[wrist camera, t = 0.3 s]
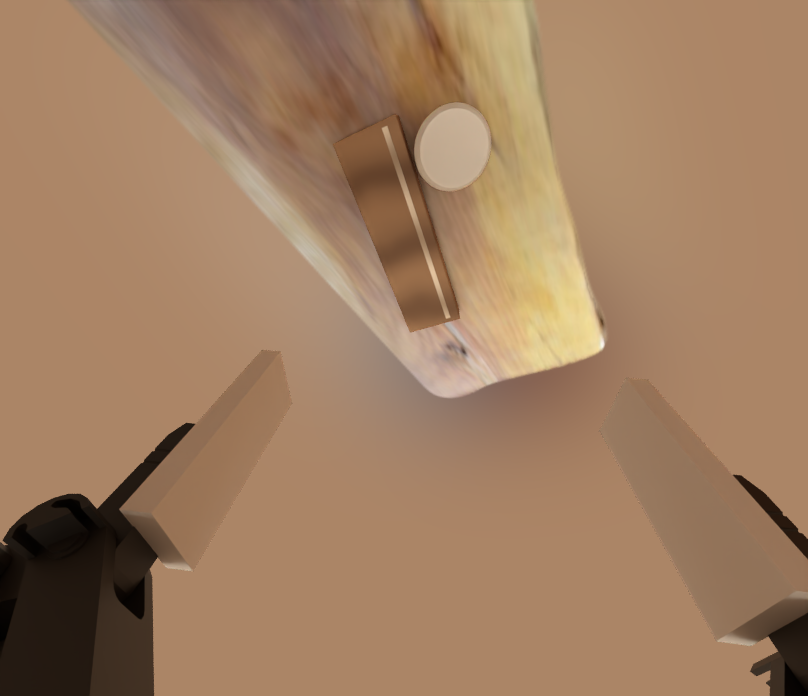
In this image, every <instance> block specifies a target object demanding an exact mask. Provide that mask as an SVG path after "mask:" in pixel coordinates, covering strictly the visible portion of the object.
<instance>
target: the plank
mask: <svg viewBox="0 0 808 696" xmlns="http://www.w3.org/2000/svg"><path fill="white" fill-rule="evenodd" d="M333 146H334V148H335V151H336V153H337V156H338V158H339V161H340V163H341V165H342V168H343V170H344V173H345V175H346V178H347V180H348V182H349V185H350V187H351V190H352V192H353V195H354V197H355V200H356V202H357V204H358V207H359V209H360V212H361V214H362V217H363V219H364V221H365V224H366V226H367V229H368V231H369V234H370V236H371V238H372V241H373V243H374V246H375V248H376V251H377V253H378V255H379V258H380V260H381V263H382V265H383V268H384V270H385V273H386V275H387V277H388V280H389V282H390V285H391V287H392V290H393V292H394V294H395V297H396V299H397V302H398V304H399V307H400V309H401V311H402V314H403V316H404V319H405V321H406V324H407V326H408V328H409V331H410V332H414V331H417V330H421V329H424V328H428V327H432V326H435V325H439V324H442V323H446V322H450V321H453V320H457V319H460V316H459V308H458V305H457V302H456V299H455V295H454V292H453V289H452V286H451V282H450V279H449V276H448V273H447V270H446V266H445V263H444V260H443V257H442V253H441V250H440V247H439V244H438V241H437V237H436V234H435V231H434V228H433V224H432V221H431V218H430V215H429V212H428V208H427V205H426V202H425V199H424V195H423V192H422V189H421V186H420V183H419V179H418V176H417V173H416V170H415V166H414V163H413V160H412V157H411V154H410V150H409V147H408V144H407V141H406V138H405V134H404V131H403V128H402V125H401V121H400V118H399V116H398V115H396V114H394V115H392V116H390V117H388V118H386V119H384V120H382V121H380V122H378V123H376V124H374V125H371V126H369V127H367V128H365V129H363V130H361V131H359V132H357V133H355V134H353V135H351V136H349V137H347V138H345V139H342V140H340V141H338V142H336V143H334V144H333Z"/></svg>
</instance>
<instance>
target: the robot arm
mask: <svg viewBox="0 0 808 696" xmlns="http://www.w3.org/2000/svg"><path fill="white" fill-rule="evenodd" d="M291 404H292V400H291V396H290V391H289V387H288V383H287V378H286V374H285V369H284V365H283V360H282V356H281V352H280V351H269V350H268V351H267V350H262V351H261V352H260V353H259V354H258V355H257V356H256V357H255V359H254V360H253V361H252V362H251V363H250V364H249V365H248V366H247V367H246V368H245V370H244V371H243V372H242V373H241V374H240V375H239V376H238V377H237V378H236V380H235V381H234V382H233V383H232V384H231V385H230V386H229V387H228V389H227V390H226V391H225V392H224V393H223V394H222V395H221V397H219V399H218V400H217V401H216V402H215V403H214V404H213V405H212V406H211V408H210V409H209V410H208V411H207V412H206V413H205V414H204V415H203V416H202V418H201V419H200V420H199V421H198V422H197V423H196V424H192V423H185V424H184V425H182V426H181V427H179V428H178V429H176V430H175V431H173V432H172V433H170V434H169V435H168V436H167V437H166V438H165V439H164V440H163V441H162V442H161V443H160V444H159V445H158V446H157V447H156V448H155V451H152V452H151V453H150V454H149V456H148V457H147V458H146V459H145V460H144V463H141V464H140V465H139V466H138V467H137V468H136V469H135V470H134V471H133V472H132V473H131V474H130V475H129V476H128V477H127V479H125V480H124V482H123V483H122V484H121V485H120V486H119V487H118V488H117V489H116V490H115V491H114V492H113V493H112V494H111V495H110V496H109V497H108V498H107V499H106V500H105V501H104V502H103V503H102V504H101V506H100V507H99V508H98V509H96V507H95V506H94V505H93V504H92V503H91V502H90V501H89V499H88V498H86V497H85V496H83V495H81V494H66V495H63V496H59V497H55V498H53V499H51V500H48V501H46V502H44V503H42V504H40V505H38V506H36V507H35V508H34V509H32V510H31V511H29V512H28V513H26V514H25V515H23V516H22V517H21V518H20V519H19V520H18V521H17V522H16V523H15V524H14V525H13V526H12V527H11V528H10V529H9V531H8V532H7V534H6V536H5V537H4V539H3V541H4V542H5V543H6V544H8V545H3V544H2V543H0V696H154V674H153V673H154V672H153V671H154V667H153V609H152V608H153V604H152V603H153V601H152V575H151V572H150V568H151V566H152V565H153V563H154V562H155V560H156V559H157V557H158V558H159V559H160V561H161V562H162V563H163V564H164V566H165V567H166V568H172V569H180V570H187V571H194V569H195V567H196V565H197V564H198V562H199V560H200V559H201V557H202V555H203V554H204V552H205V550H206V549H207V547H208V545H209V543H210V542H211V540H212V538H213V537H214V535H215V533H216V532H217V530H218V528H219V526H220V525H221V523H222V521H223V520H224V518H225V516H226V515H227V513H228V511H229V510H230V508H231V506H232V504H233V502H234V501H235V499H236V497H237V496H238V494H239V493H240V491H241V489H242V488H243V486H244V484H245V482H246V481H247V479H248V477H249V476H250V474H251V472H252V471H253V469H254V467H255V465H256V464H257V462H258V460H259V459H260V457H261V455H262V454H263V452H264V450H265V448H266V447H267V445H268V443H269V442H270V440H271V438H272V437H273V435H274V433H275V431H276V430H277V428H278V427H279V425H280V423H281V421H282V420H283V418H284V416H285V415H286V413H287V411H288V410H289V408H290V406H291ZM600 433H601V435H602V437H603V438H604V440H605V442H606V444H607V446H608V447H609V449H610V451H611V453H612V454H613V456H614V458H615V460H616V462H617V464H618V465H619V467H620V469H621V471H622V473H623V474H624V476H625V478H626V480H627V482H628V483H629V485H630V487H631V489H632V490H633V492H634V494H635V496H636V498H637V500H638V501H639V503H640V505H641V506H642V509H643V510H644V512H645V514H646V516H647V517H648V519H649V521H650V523H651V525H652V526H653V528H654V530H655V532H656V534H657V535H658V537H659V539H660V541H661V542H662V544H663V546H664V548H665V550H666V551H667V553H668V555H669V557H670V559H671V560H672V562H673V564H674V566H675V568H676V570H677V571H678V573H679V575H680V577H681V579H682V580H683V582H684V584H685V586H686V587H687V589H688V591H689V593H690V595H691V596H692V598H693V600H694V602H695V604H696V606H697V607H698V609H699V611H700V613H701V615H702V616H703V618H704V620H705V622H706V623H707V625H708V627H709V629H710V631H711V633H712V634H713V636H714V638H715V640H716V641H719V642H726V643H734V644H741V645H749V646H752V645H754V644H755V643H757V642H759V641H761V640H763V639H764V638H766V637H768V636H769V638H770V639H771V641H772V642H773V644H774V645H775V647H776V648H777V650H778V652H776V653H774V654H772V655H770V656H768V657H767V658H765V659H763V660H761V661H759V662H757V663H755V664H753V666H752V668H751V671H750V672H752V673H753V674H754V675H756V676H758V675H760V674H762V673H765V672H767V671H769V670H771V675H770V680H769V681H768V682H766V684H768V685H769V686H770V696H808V539H807V538H806V537H805V536H804V535H803V534H802V533H799V532H798V528H797V527H796V526H795V525H794V524H793V523H792V522H791V521H790V520H789V519H788V518H787V517H786V516H783V514H782V511H781V510H780V509H779V508H778V507H777V506H776V505H775V504H774V503H773V502H772V501H771V499H770V498H769V497H767V495H766V494H765V493H764V492H763V491H761V490H760V489H758V488H757V487H756V486H754V485H753V484H752V483H750V482H749V481H747V480H746V479H745V478H744V477H742V476H740V475H732V474H731V473H730V472H729V471H728V469H727V468H726V467H725V466H724V465H723V464H722V462H721V461H720V460H719V459H718V458H717V457H716V456H715V455H714V453H713V452H712V451H711V450H710V449H709V448H708V447H707V446H706V444H705V443H704V442H703V441H702V440H701V439H700V438H699V437H698V436H697V434H695V432H694V431H693V430H692V429H691V428H690V427H689V425H688V424H687V423H686V422H685V421H684V420H683V419H682V418H681V416H680V415H679V414H678V413H677V412H676V411H675V410H674V409H673V407H672V406H671V405H670V404H669V403H668V402H667V401H666V400H665V398H664V397H663V396H662V395H661V394H660V393H659V392H658V391H657V389H655V387H654V386H653V385H652V384H651V383H650V382H649V381H648V380H646V379H634V378H626V379H625V380H624V382H623V385H622V386H621V389H620V391H619V392H618V395H617V396H616V398H615V401H614V403H613V405H612V406H611V409H610V410H609V413H608V414H607V416H606V419H605V420H604V422H603V425H602V426H601V428H600Z"/></svg>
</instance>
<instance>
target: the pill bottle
mask: <svg viewBox="0 0 808 696" xmlns="http://www.w3.org/2000/svg"><path fill="white" fill-rule="evenodd" d="M491 145H492V139H491V133H490V129H489V126H488V123H487V121H486V119H485V118H484V116H483V115H482V114H481V112H479V111H478V110H477V109H476V108H474V107H473V106H471V105H469V104H466V103H461V102H452V103H447V104H444V105H442V106H440V107H438V108H437V109H435V110H434V111H433V112H431V113H430V114H429V115H428V116H427V118H426V119H425V120H424V122H423V123H422V125H421V126H420V128H419V131H418V133H417V136H416V140H415V145H414V157H415V163H416V166H417V169H418V171H419V173H420V175H421V177H422V178H423V179H424V180H425V181H426V182H427V183H428V184H429V185H430V186H432V187H434V188H435V189H438V190H441V191H457V190H460V189H463V188H465V187H467V186H469V185H471V184H472V183H473V182H474V181H475V180H476V179H477V178H478V177H479V176H480V175H481V174H482V172H483V171H484V169H485V167H486V165H487V163H488V160H489V157H490V153H491Z"/></svg>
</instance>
